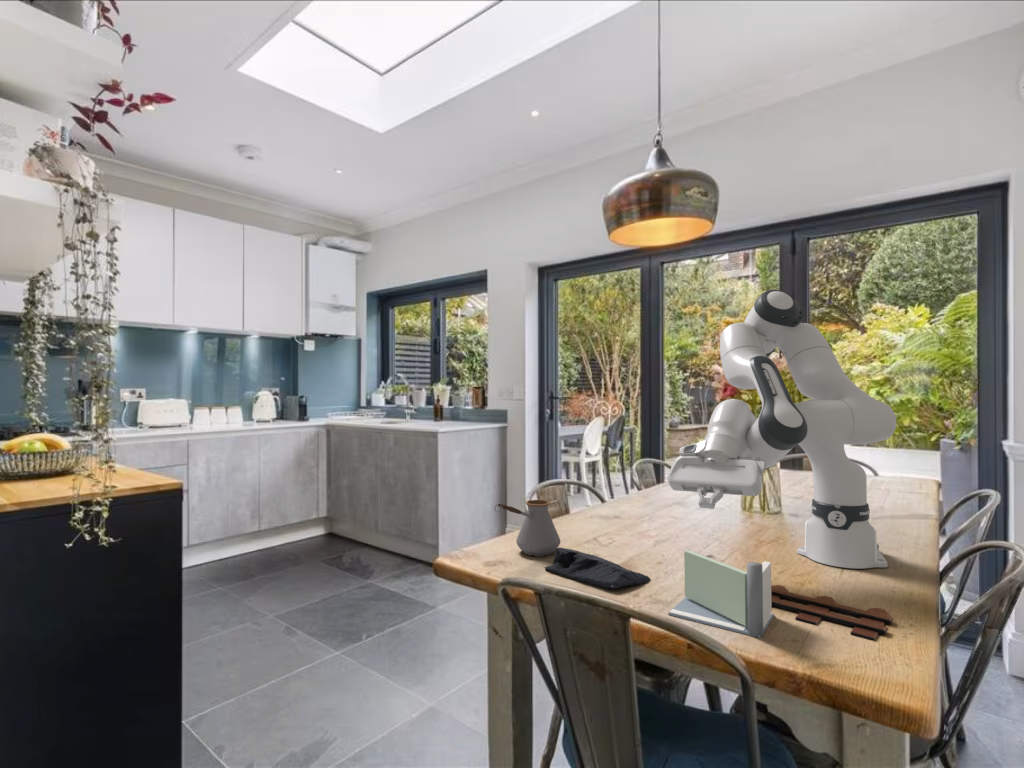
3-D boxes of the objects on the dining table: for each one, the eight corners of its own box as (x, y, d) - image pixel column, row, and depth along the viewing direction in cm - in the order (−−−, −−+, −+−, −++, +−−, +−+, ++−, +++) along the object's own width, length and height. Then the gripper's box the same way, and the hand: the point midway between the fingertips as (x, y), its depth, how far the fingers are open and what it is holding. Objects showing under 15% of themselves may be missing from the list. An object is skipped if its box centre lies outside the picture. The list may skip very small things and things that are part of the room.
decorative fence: (882, 647, 90) (898, 618, 100) (882, 636, 90) (898, 609, 100) (740, 608, 105) (767, 587, 116) (740, 599, 105) (767, 579, 116)
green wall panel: (750, 624, 95) (749, 573, 95) (745, 626, 94) (744, 574, 94) (689, 595, 108) (689, 550, 108) (684, 596, 108) (684, 551, 108)
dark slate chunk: (608, 599, 110) (608, 575, 110) (539, 570, 128) (539, 550, 128) (656, 582, 119) (656, 561, 119) (586, 557, 137) (586, 539, 137)
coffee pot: (535, 542, 149) (534, 488, 149) (569, 551, 141) (568, 493, 141) (480, 562, 133) (479, 500, 133) (515, 572, 125) (515, 507, 125)
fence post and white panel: (761, 613, 101) (760, 549, 101) (775, 616, 100) (774, 551, 100) (746, 635, 93) (745, 564, 93) (761, 638, 91) (760, 567, 91)
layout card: (688, 596, 110) (688, 593, 110) (774, 615, 100) (774, 613, 100) (668, 614, 101) (668, 612, 101) (760, 638, 92) (760, 635, 92)
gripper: (771, 466, 120) (760, 520, 113) (682, 463, 134) (667, 510, 126) (763, 448, 117) (751, 502, 109) (673, 447, 131) (657, 494, 123)
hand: (705, 506), depth 118 cm, fingers closed
